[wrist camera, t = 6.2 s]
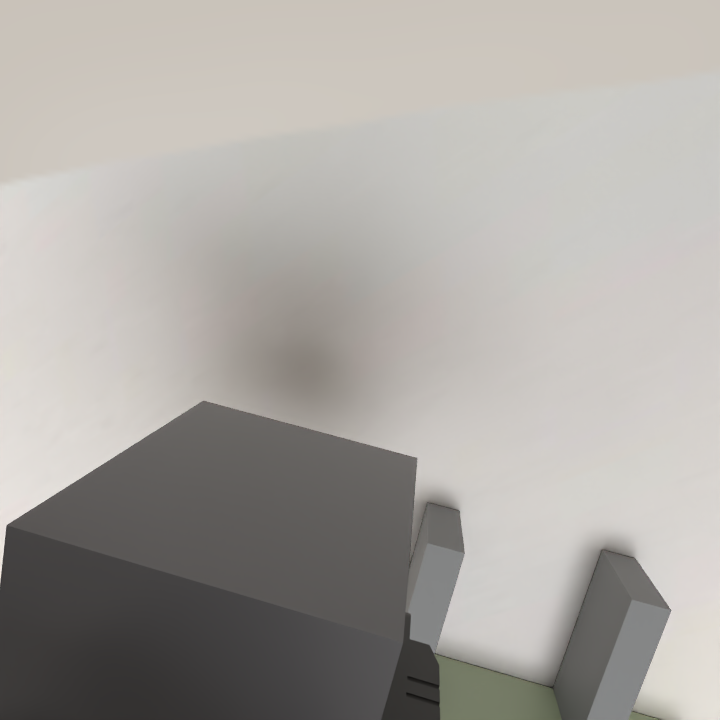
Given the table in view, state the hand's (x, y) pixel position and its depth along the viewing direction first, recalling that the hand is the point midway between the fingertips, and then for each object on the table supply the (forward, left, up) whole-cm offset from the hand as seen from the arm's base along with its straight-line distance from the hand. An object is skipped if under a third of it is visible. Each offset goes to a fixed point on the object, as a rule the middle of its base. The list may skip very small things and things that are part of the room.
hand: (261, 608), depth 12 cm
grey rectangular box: (0, 0, -1) cm, 1 cm away
